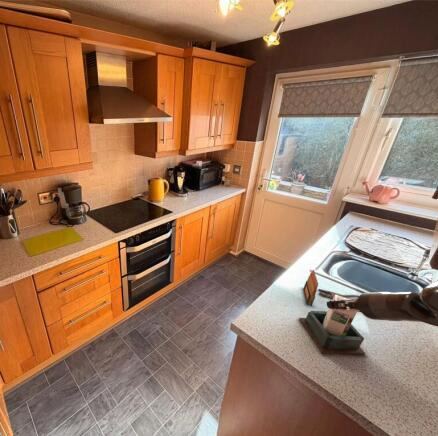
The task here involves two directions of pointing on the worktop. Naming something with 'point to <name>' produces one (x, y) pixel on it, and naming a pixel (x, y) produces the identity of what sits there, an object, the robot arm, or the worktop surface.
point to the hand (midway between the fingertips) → (340, 305)
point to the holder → (331, 343)
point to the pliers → (334, 294)
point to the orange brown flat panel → (310, 288)
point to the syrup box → (338, 319)
